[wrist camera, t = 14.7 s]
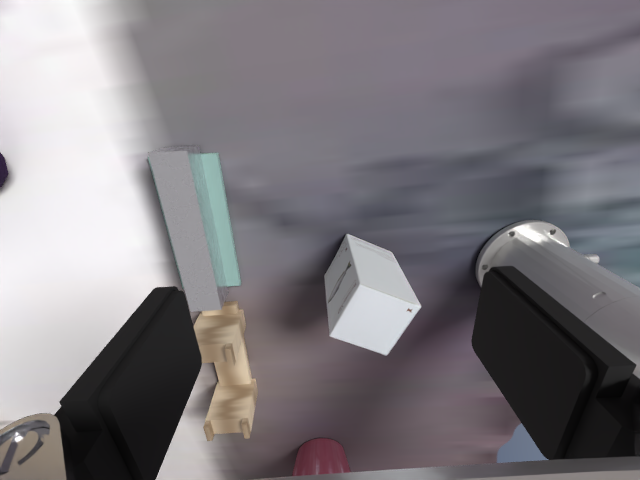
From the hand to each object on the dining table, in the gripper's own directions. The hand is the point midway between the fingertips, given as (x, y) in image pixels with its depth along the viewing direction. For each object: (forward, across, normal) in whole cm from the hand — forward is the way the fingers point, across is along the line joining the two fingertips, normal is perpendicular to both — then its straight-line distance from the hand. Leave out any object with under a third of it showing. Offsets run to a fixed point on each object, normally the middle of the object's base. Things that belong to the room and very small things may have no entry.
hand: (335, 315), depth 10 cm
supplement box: (+30, -5, +15) cm, 34 cm away
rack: (+30, +15, +30) cm, 45 cm away
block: (+29, +15, +8) cm, 34 cm away
